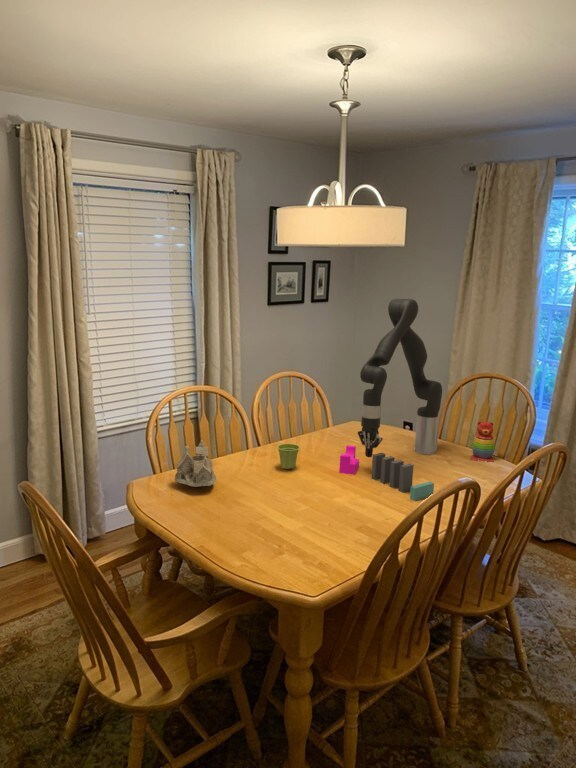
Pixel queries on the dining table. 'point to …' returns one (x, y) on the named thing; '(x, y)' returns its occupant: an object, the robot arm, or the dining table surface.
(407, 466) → the domino
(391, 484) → the domino
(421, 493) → the domino
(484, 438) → the stacking bear
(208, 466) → the ceramic cottage
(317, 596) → the dining table surface
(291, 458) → the plant pot
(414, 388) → the robot arm
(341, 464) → the toy block
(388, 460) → the domino
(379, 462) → the domino
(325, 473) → the dining table surface
